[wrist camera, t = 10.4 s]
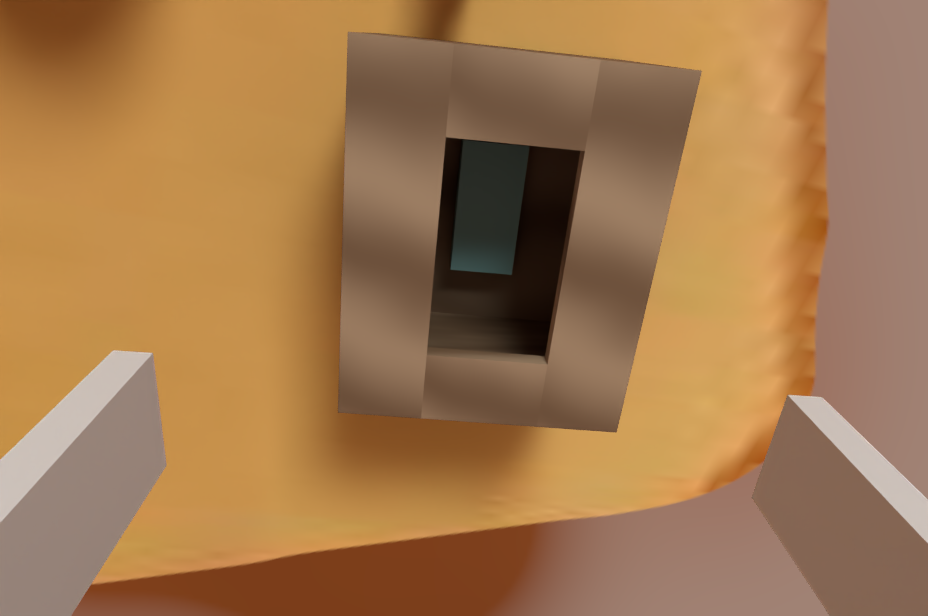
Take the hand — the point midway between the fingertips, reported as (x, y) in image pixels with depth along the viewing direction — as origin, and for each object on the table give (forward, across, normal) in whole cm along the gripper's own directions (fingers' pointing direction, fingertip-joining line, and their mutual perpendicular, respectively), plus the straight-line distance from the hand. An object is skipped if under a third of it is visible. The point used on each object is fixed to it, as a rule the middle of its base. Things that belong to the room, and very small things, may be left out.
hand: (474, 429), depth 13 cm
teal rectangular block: (+24, +2, -1) cm, 24 cm away
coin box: (+24, +2, -1) cm, 24 cm away
